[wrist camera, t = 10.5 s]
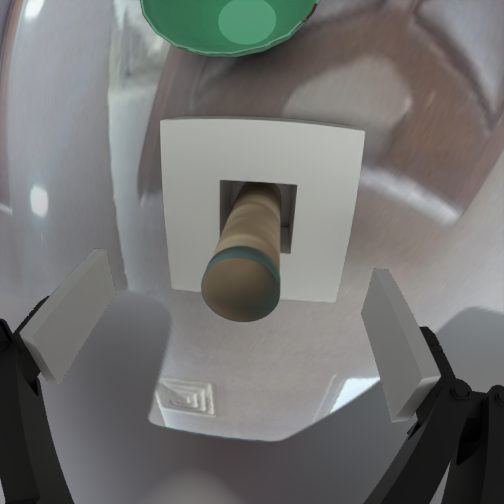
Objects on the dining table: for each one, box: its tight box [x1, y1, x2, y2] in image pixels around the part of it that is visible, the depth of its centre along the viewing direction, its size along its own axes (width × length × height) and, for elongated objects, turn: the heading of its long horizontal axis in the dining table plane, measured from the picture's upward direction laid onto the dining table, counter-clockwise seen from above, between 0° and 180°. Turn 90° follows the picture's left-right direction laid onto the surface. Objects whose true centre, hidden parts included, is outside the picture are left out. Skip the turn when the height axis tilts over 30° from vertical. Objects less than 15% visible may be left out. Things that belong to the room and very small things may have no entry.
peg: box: [201, 181, 281, 322], centre depth 20 cm, size 4×4×14 cm
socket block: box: [160, 116, 365, 302], centre depth 24 cm, size 14×14×5 cm
